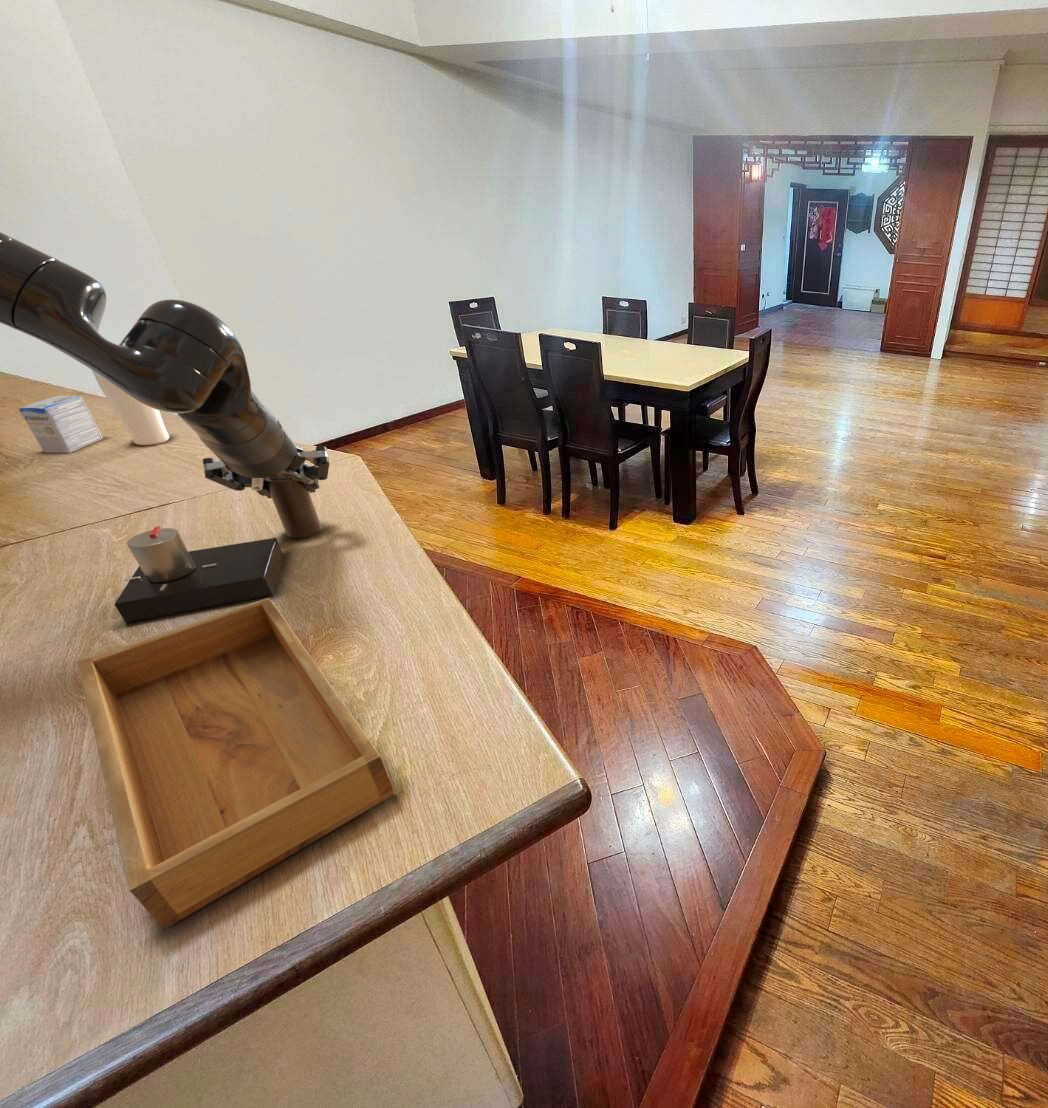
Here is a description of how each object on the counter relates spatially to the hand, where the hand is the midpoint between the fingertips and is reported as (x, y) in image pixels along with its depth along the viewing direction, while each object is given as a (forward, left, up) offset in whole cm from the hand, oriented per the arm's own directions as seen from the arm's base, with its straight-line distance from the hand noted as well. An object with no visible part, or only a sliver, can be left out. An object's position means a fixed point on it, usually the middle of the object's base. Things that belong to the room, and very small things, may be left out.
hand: (292, 489), depth 86 cm
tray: (-1, -46, -7) cm, 47 cm away
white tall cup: (-30, +52, -7) cm, 61 cm away
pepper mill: (0, -2, -6) cm, 6 cm away
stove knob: (-12, -14, -3) cm, 19 cm away
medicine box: (-42, +54, -7) cm, 69 cm away
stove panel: (-9, -14, -6) cm, 18 cm away
